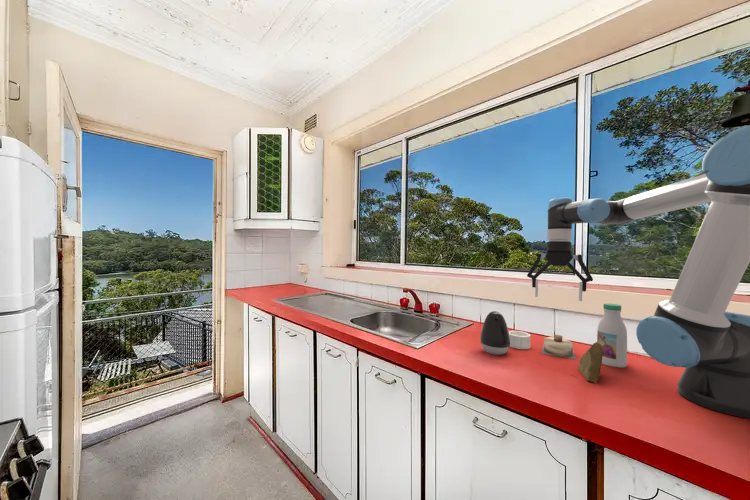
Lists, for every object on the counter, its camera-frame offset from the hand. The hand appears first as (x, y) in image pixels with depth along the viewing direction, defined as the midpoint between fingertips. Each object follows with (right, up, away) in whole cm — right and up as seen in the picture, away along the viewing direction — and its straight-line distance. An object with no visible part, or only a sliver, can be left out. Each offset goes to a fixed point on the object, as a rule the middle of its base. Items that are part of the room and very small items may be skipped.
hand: (557, 298), depth 104 cm
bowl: (-11, -20, +6) cm, 24 cm away
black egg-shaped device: (-23, -20, 0) cm, 31 cm away
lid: (0, -20, 0) cm, 20 cm away
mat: (0, -20, 0) cm, 20 cm away
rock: (-3, -21, -18) cm, 28 cm away
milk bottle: (+12, -21, -10) cm, 26 cm away
